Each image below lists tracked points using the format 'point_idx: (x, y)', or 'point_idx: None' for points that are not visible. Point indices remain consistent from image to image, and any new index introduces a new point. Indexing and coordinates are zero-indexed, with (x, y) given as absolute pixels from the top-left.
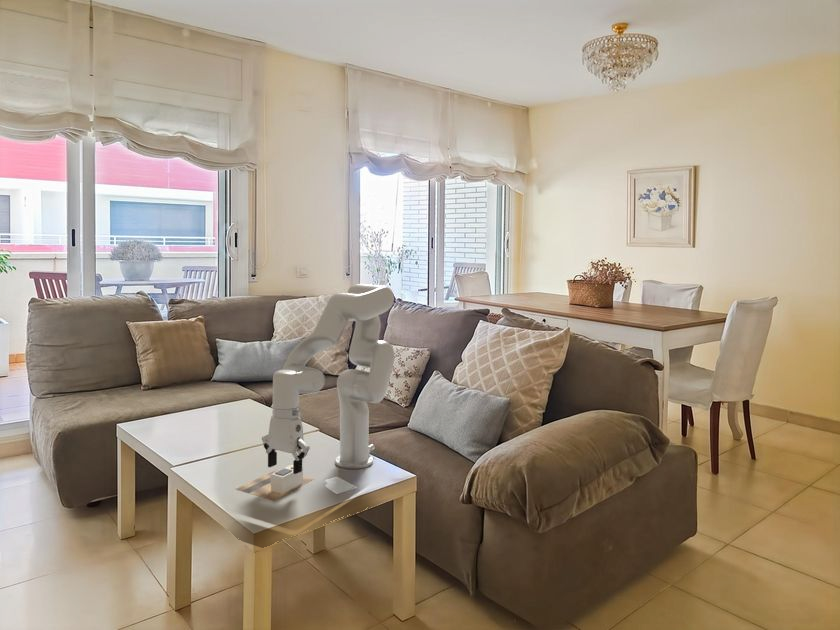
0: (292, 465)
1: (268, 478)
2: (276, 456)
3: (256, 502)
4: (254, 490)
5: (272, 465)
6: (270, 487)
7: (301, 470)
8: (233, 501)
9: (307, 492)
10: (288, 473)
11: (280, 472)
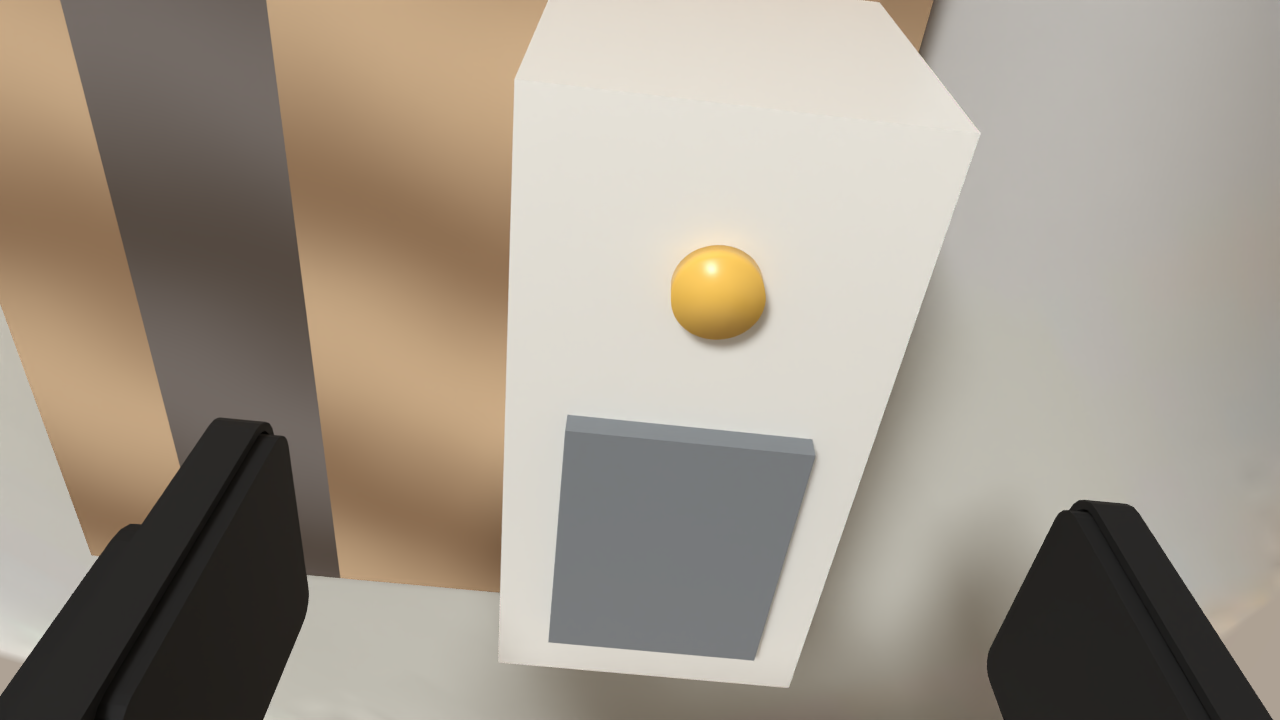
0: (590, 119)
1: (93, 74)
2: (185, 614)
3: None
4: (331, 509)
5: (295, 560)
6: (446, 370)
7: (1124, 520)
8: (313, 660)
9: (1047, 175)
10: (798, 547)
11: (639, 608)
